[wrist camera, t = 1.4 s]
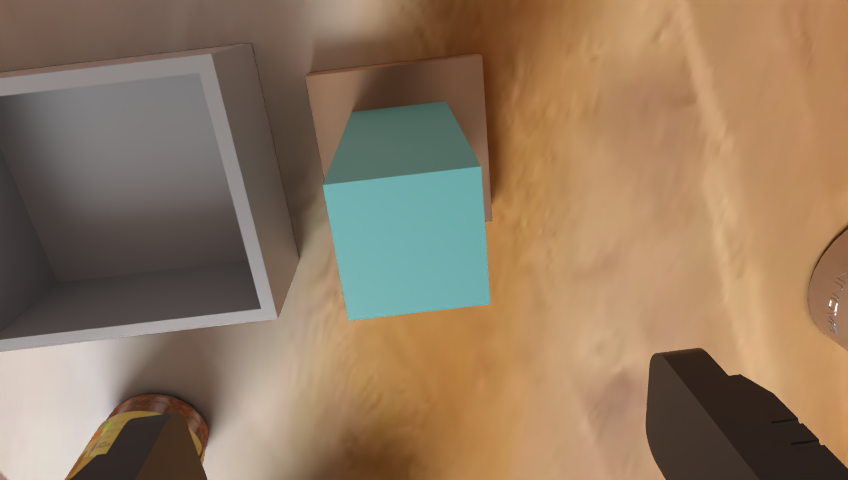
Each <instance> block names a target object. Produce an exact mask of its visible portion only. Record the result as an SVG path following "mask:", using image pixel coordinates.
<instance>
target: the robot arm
mask: <svg viewBox="0 0 848 480" xmlns="http://www.w3.org/2000/svg"><path fill="white" fill-rule="evenodd" d="M808 305H809V311H810V315H811V317H812V319H813V320H814V322H815V324H816V325H817V326H818V328H819V329H820V330H821V331H822V332H823V333H824V334H826V335H827V336H828V337H830V338H831V339H832V340H834V341H835V342H836V343H838V344H839V345H840V346H841V347H843V348H844V349H845V350H847V351H848V229H847V230H846V231H845V232H844V233H843V234H842V235H841V236H840V237H838V238H837V239H836V240H835V241H834V242H833V243H832V245H831V246H830V247H829V248H828V250H827V251H826V252H825V253H824V255H823V256H822V257H821V259H820V261H819V263H818V265H817V266H816V268H815V270H814V272H813V275H812V278H811V282H810V285H809V291H808ZM646 434H647V439H648V443H649V447H650V450H651V453H652V455H653V457H654V460H655V462H656V463H657V465H658V467H659V469H660V470H661V472H662V474H663V476H664V477H665V479H666V480H848V468H847V467H846V466H845V465H844V464H843V463H842V462H841V461H840V460H839V459H838V458H837V457H836V456H835V455H834V454H833V453H832V452H831V451H830V450H829V449H828V448H827V447H826V446H825V445H820V443H819V439H818V438H817V437H816V436H815V435H814V434H813V433H812V432H811V431H810V430H809V429H808V428H807V427H806V426H805V425H804V424H803V423H802V424H800V423H799V422H798V418H797V417H796V416H795V415H794V414H793V413H792V412H791V411H790V410H789V409H788V408H787V407H786V406H785V405H784V404H783V403H782V402H781V401H780V400H779V399H778V398H777V397H776V396H775V395H774V394H773V393H772V392H770V391H768V390H766V389H765V388H763V387H761V386H760V385H758V384H756V383H754V382H753V381H751V380H749V379H747V378H746V377H744V376H742V375H741V374H740V375H732V376H728V375H727V374H726V373H725V371H724V370H723V369H722V368H721V367H720V366H719V365H718V364H717V363H716V362H715V361H714V359H713V358H712V357H711V356H710V355H709V354H708V353H707V352H706V351H705V350H703V349H701V348H694V349H686V350H678V351H670V352H662V353H655V354H654V355H653V356H652V358H651V360H650V368H649V382H648V396H647V411H646ZM70 480H207V477H206V474H205V471H204V469H203V466H202V463H201V460H200V458H199V455H198V452H197V449H196V447H195V444H194V441H193V439H192V436H191V433H190V430H189V428H188V425H187V422H186V420H185V418H184V417H183V416H182V415H181V414H180V413H170V414H162V415H154V416H146V417H138V418H132V419H130V420H128V421H127V422H126V423H125V425H124V426H123V428H122V429H121V431H120V432H119V434H118V436H117V437H116V439H115V440H114V442H113V443H112V445H111V447H110V448H109V450H108V451H107V453H106V454H99V455H96V456H95V457H94V458H93V459H92V460H91V461H90V462H88V463H87V464H86V465H85V466H84V467H83V468H82V469H81V470H80V471H79V472H77V473H76V474H75V475H74V476H73V477H72V478H71V479H70Z"/></svg>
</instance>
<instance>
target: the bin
mask: <svg viewBox="0 0 848 480" xmlns="http://www.w3.org/2000/svg"><path fill="white" fill-rule="evenodd" d="M298 263H299V256H298V251H297V247H296V242H295V238H294V233H293V229H292V224H291V220H290V215H289V211H288V206H287V202H286V197H285V193H284V188H283V184H282V179H281V175H280V170H279V166H278V161H277V157H276V152H275V148H274V143H273V138H272V134H271V129H270V125H269V120H268V116H267V111H266V107H265V102H264V98H263V93H262V89H261V84H260V80H259V75H258V71H257V66H256V62H255V57H254V53H253V48H252V44H251V43H246V44H238V45H229V46H220V47H212V48H203V49H195V50H186V51H178V52H169V53H160V54H152V55H143V56H135V57H126V58H118V59H109V60H101V61H92V62H83V63H75V64H66V65H58V66H49V67H41V68H32V69H23V70H15V71H6V72H0V352H3V351H12V350H20V349H29V348H37V347H45V346H54V345H62V344H71V343H79V342H88V341H96V340H104V339H113V338H121V337H130V336H138V335H146V334H155V333H163V332H172V331H180V330H189V329H197V328H205V327H214V326H222V325H231V324H239V323H248V322H256V321H264V320H273V319H278V317H279V314H280V312H281V309H282V306H283V304H284V301H285V298H286V295H287V293H288V290H289V287H290V285H291V282H292V279H293V276H294V274H295V271H296V268H297V266H298Z"/></svg>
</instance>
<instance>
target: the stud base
mask: <svg viewBox="0 0 848 480" xmlns="http://www.w3.org/2000/svg"><path fill="white" fill-rule="evenodd" d="M305 80H306V85H307V90H308V96H309V101H310V106H311V112H312V117H313V122H314V127H315V133H316V138H317V143H318V149H319V154H320V159H321V165H322V170H323V175H324V180H325V177H326V175H327V172H328V170H329V167H330V165H331V162H332V160H333V157H334V155H335V152H336V150H337V147H338V145H339V142H340V140H341V137H342V134H343V132H344V129H345V127H346V124H347V122H348V119H349V117H350V114H351V112H358V111H366V110H375V109H383V108H392V107H400V106H409V105H418V104H426V103H435V102H443V101H446V102H447V104H448V106H449V108H450V109H451V111H452V113H453V115H454V117H455V119H456V121H457V122H458V124H459V126H460V128H461V130H462V132H463V134H464V136H465V137H466V139H467V141H468V143H469V145H470V147H471V149H472V150H473V152H474V154H475V156H476V158H477V160H478V162H479V163H480V165H481V173H482V188H483V203H484V218H485V222H486V221H492V208H491V192H490V175H489V158H488V142H487V125H486V109H485V92H484V75H483V59H482V55H480V54H478V53H474V54H465V55H457V56H448V57H440V58H431V59H423V60H414V61H405V62H397V63H388V64H380V65H371V66H363V67H354V68H346V69H337V70H329V71H320V72H311V73H309V74H307V75H306V76H305Z"/></svg>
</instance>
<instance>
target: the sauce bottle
mask: <svg viewBox="0 0 848 480" xmlns="http://www.w3.org/2000/svg"><path fill="white" fill-rule="evenodd" d="M170 413H180V414H181V415H182V416H183V417H184V418H185V420H186V422H187V425H188V428H189V430H190V433H191V436H192V439H193V441H194V444H195V447H196V449H197V452H198V455H199V458H200V460H201V463H202V464H203V461H204V456H205V449H206V447H207V441H208V427H207V425H206V423H205V421H204V419H203V417H202V416H200V414H199V413H198V412H196V411H195V410H194V408H193V407H192V406H191V405H189V404H187V403H185V402H184V401H182V400H179V399H176V398H175V397H173V396H166V395H160V394H153V395H151V394H146V395H139V396H135V397H132V398H130V399H128V400H126V401H124V402H123V403H122V404H120V405H118V406H117V407H116V408H115V409H114V411H113V412H112V413H111V414H110V415H109V417H108V418H107V420H106V421H104V422H103V423H102V424H101V425H100V427H99V428H98V429H97V431H96V433H95V434H94V436H93V437H92V439H91V440H90V442H89V443H88V445H87V446H86V448H85V449H84V451H83V452H82V454H81V456H80V457H79V459H78V460H77V462H76V463H75V465H74V466H73V468H72V469H71V471H70V472H69V474H68V475H67V477H66V478H65V480H70V479H71V478H72V477H73V476H74V475H75V474H76V473H77V472H79V471H80V470H81V469H82V468H83V467H84V466H85V465H86V464H87V463H88V462H90V461H91V460H92V459H93V458H94V457H95V456H96V455H99V454H106V453H107V451H108V450H109V448H110V447H111V445H112V443H113V442H114V440H115V439H116V437H117V436H118V434H119V432H120V431H121V429H122V428H123V426H124V425H125V423H126V422H127V421H128V420H130V419H132V418H138V417H146V416H154V415H162V414H170Z"/></svg>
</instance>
